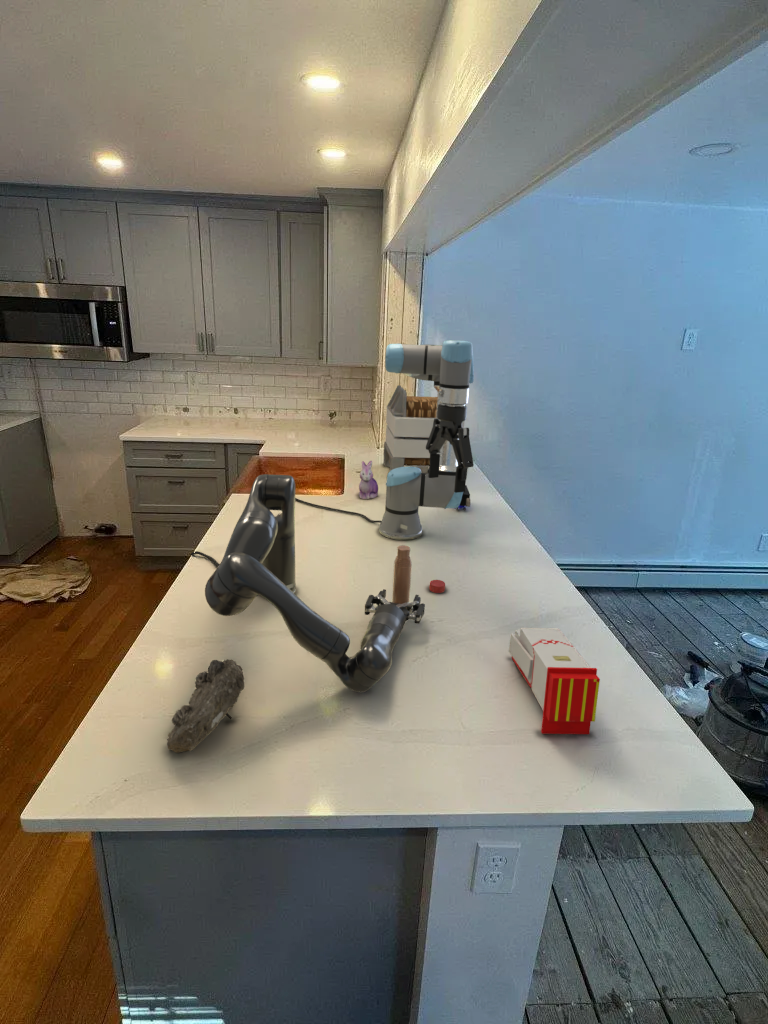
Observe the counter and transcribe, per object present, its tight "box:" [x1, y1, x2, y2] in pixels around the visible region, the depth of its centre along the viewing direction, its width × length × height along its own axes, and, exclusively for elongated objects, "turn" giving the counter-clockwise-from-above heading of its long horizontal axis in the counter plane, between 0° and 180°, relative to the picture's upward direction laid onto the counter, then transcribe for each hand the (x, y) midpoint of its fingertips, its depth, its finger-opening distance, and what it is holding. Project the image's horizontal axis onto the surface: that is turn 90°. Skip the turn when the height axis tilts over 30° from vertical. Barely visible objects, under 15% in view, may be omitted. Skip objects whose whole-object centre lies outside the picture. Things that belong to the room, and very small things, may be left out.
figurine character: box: [456, 484, 471, 512], centre depth 229 cm, size 7×8×15 cm
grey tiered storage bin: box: [383, 384, 465, 472], centre depth 268 cm, size 34×33×41 cm
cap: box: [428, 579, 446, 594], centre depth 161 cm, size 4×4×2 cm
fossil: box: [166, 658, 245, 754], centre depth 106 cm, size 22×10×15 cm
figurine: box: [358, 460, 379, 500], centre depth 236 cm, size 9×10×15 cm
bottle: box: [391, 544, 413, 604], centre depth 146 cm, size 4×4×18 cm
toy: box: [508, 627, 601, 735], centre depth 119 cm, size 12×13×30 cm
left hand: (400, 595), depth 145 cm, fingers open, 8 cm apart
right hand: (445, 484), depth 151 cm, fingers open, 13 cm apart
